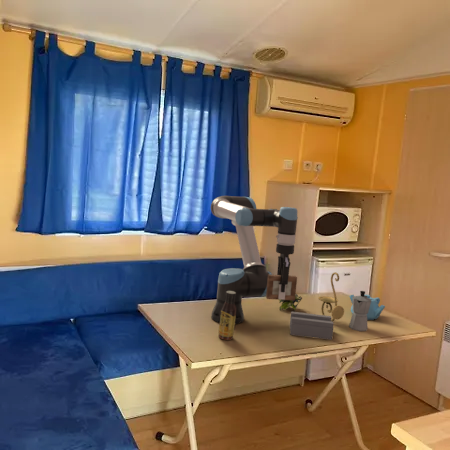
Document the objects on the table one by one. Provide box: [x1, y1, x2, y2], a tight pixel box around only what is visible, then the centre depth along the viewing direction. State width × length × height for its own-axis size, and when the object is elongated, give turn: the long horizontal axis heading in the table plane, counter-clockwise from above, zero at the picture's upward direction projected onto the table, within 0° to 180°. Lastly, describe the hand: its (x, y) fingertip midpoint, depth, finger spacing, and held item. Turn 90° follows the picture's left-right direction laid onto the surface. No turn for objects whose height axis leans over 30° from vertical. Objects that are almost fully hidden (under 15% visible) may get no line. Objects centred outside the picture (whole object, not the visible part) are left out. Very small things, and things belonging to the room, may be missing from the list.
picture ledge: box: [289, 311, 335, 341], centre depth 204 cm, size 18×12×7 cm, turn 84°
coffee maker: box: [348, 290, 371, 332], centre depth 216 cm, size 15×9×18 cm, turn 151°
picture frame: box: [265, 274, 298, 301], centre depth 194 cm, size 12×3×10 cm, turn 95°
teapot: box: [349, 294, 386, 321], centre depth 235 cm, size 15×17×11 cm
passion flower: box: [278, 293, 303, 312], centre depth 234 cm, size 11×11×12 cm
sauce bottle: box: [218, 291, 236, 341], centre depth 188 cm, size 7×6×20 cm
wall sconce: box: [318, 272, 345, 323], centre depth 220 cm, size 14×10×25 cm
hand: (280, 297), depth 195 cm, fingers closed on picture frame, 3 cm apart
